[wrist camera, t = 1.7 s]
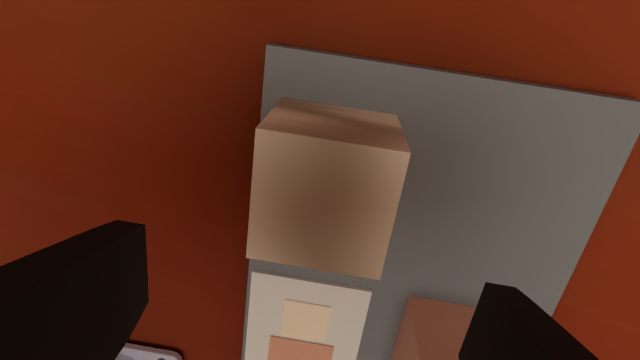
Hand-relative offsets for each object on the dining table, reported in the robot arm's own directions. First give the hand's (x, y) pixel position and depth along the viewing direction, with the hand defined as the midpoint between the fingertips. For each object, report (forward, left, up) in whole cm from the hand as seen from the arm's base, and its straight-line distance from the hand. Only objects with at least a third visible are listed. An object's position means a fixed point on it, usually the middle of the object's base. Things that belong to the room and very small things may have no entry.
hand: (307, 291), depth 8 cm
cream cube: (0, 0, -8) cm, 8 cm away
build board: (+4, -5, -9) cm, 11 cm away
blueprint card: (0, -10, -8) cm, 13 cm away
